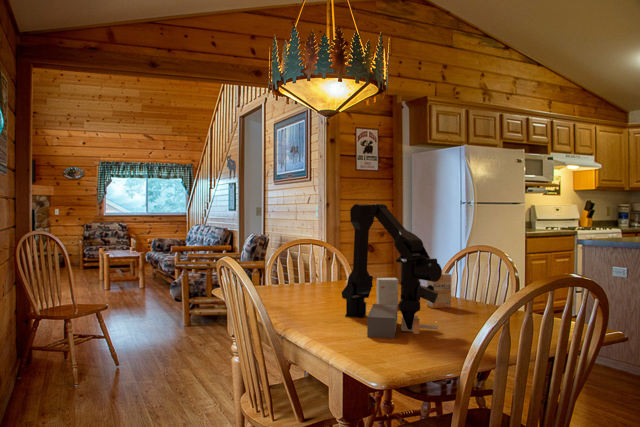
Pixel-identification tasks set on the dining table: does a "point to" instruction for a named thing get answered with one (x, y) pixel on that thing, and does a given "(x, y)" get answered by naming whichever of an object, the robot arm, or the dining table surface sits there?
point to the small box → (387, 291)
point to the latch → (416, 326)
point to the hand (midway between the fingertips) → (409, 327)
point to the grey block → (382, 321)
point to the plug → (404, 327)
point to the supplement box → (441, 292)
